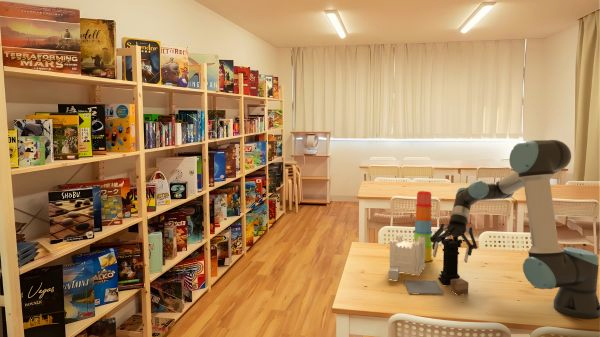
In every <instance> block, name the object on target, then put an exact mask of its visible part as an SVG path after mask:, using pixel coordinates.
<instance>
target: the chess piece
mask: <svg viewBox="0 0 600 337" xmlns="http://www.w3.org/2000/svg"><path fill="white" fill-rule="evenodd" d="M440 239H441V242H440V244H442V246H443V248H442V249H441V250H442V252H443V259H442V260H443V261H442V262H443V263H442V264H443V265H442V266H443V267H442V270H440V273H439V276H438V277H437V280H440V281H441V282H440V281H439V282H440V283H441V284H442V286H443V285H451V279H458V278H461V276H460V274H459V273H458V272H459V271H458V270H459V268H458V266H459V255H460V252H459V248H461V247H462V244H463V239H459V237H458V236H452V238H445V236H440Z"/></svg>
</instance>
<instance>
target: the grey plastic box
mask: <svg viewBox="0 0 600 337" xmlns="http://www.w3.org/2000/svg"><path fill="white" fill-rule="evenodd" d="M398 278H399V279H400V273H399V267H397V266H390V265H389V268H388V280H389V279H392V280H398V281H399V279H398Z"/></svg>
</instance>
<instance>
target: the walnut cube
mask: <svg viewBox="0 0 600 337" xmlns="http://www.w3.org/2000/svg"><path fill="white" fill-rule="evenodd" d="M449 287H450V290H451V292H452V291H453V292H454V293H453V292H452V293H453V294H455V293H456V294H457V295H456V294H455V295H456V296H462V295H461V294H464V295H469V282H468V281H467V280H466V279H463V278H462V277H460V278H458V279H451V286H449ZM450 290H449V291H450Z"/></svg>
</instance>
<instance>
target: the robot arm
mask: <svg viewBox="0 0 600 337" xmlns="http://www.w3.org/2000/svg"><path fill="white" fill-rule="evenodd" d="M508 159H509V166H510V168H511V169H512V171H513V172H511V173H510V174H508V175H506V176H505V177H503V178H501V179H500V180H497V181H496V182H487V183H486V182H485V181H482V180H477V181H474V182H471V184H470V185H468V186H467V187H466V186H465V187H464V186H463V187H459V188H458V189H457V190H456V194H455V198H454V203H453V206H452V207H453V208H452V211H451V215H450V218H449V222H448V224H447V225H445V224H444V223H441V225H440V227H439V228H438V229H437V230H436V232H434V234H432V235H431V238H430V240H431V243H432V245H433V246H432V250H433V252H432V258H436V256H437V252H438V249H439V243H441V239H440V236H445V239H447V238H448V237H453V236H458V238H459V237H461V238H462V240H463V242H465V244H466V245H467V246H466V250H465V254H464V257H463V258H464V259H463V260H464V263H465V264H467V263H468V260H469V256H471V255H472V253H473V250H477V249H478V246H477V241H476V239H475V237H474V232H473V231H474V229H473V227H468V228H467V225H468V220H469V218H470V217H469V216H470V212H471V208H472V206H473V205H475V204H476V203H477V202H478V201H488V200H501V199H502V200H505V199H510V198H512V197H513V195H514V193H515V192H517V191H519V190H521V189H523V188H524V193H525V202H526V208H527V209H526V211H527V217H528V225H529V232H530V234H529V235H530V241H531V247H530V248H529V249H528V251H527V252H528V257H527V258H525V259H524V262H523V263H522V271H523V274H524V277H525V278H526V280H527V282H529V283H530V285H531V286H533V287H534V288H536V289H538V290H553V289H556V288H558V290H557V292H556V294H555V296H554V298H553V305H552V306H553V308H554V309H555V310H557V311H558V312H559V313H561V314H563V315H566V316H570V317H574V318H578V319H589V320H591V319H597V318H599V317H600V301H599V300H600V299H599V298H598V295H597V290H598V289H597V288H598V280H599V279H598V277H599V266H600V264H599V256H598V254H596V253H595V252H592V251H590V250H586V249H583V248H579V247H578V248H577V247H571V246H570V247H568V246H565V247H561V246H560V244H559V239H558V230H557V225H556V215H555V210H554V209H555V207H554V203H553V200H554V199H553V193H552V186H551V179H552V178H553V177H554V176H555V174H557V173H558V172H560V171H562V170H564V169H566V168H567V167H568V165H570V162H571V160H572V152H571V148H569V146H568V145H567V144H566V143H564V142H563V141H560V140H557V139H547V140H546V139H543V140H541V139H540V140H538V139H537V140H536V139H535V140H524V141H520V142H517V143H516V144H515V145H514V146H513V148H512V149H511V151H510V153H509V158H508ZM465 233H468V234H469V237H470V238H471V239H470V240H471V242H472V243H471V242H470V241H469V239H468V237H467V236H466V235H465Z"/></svg>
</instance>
